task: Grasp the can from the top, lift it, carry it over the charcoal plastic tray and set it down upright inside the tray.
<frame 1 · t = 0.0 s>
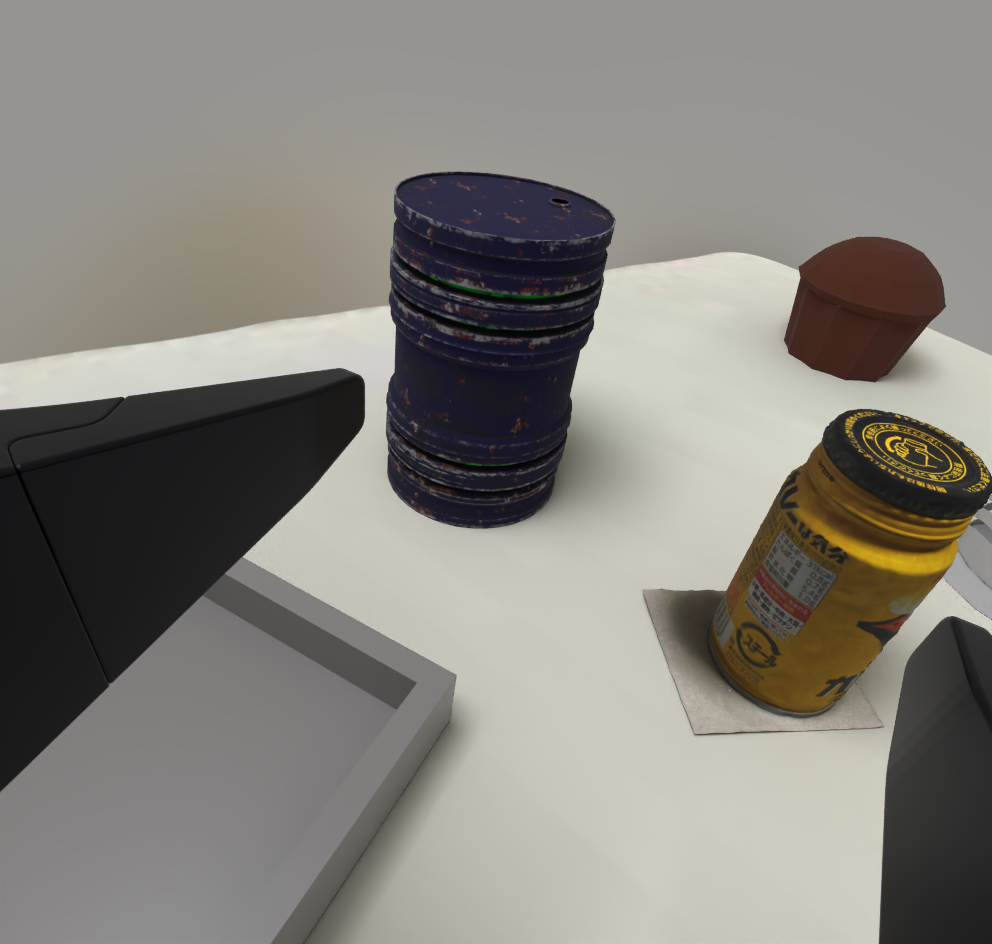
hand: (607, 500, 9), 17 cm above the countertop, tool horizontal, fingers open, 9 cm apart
tray: (115, 792, 21), on the countertop
muffin: (832, 358, 56), on the countertop
storage jar: (470, 473, 37), on the countertop
condiment: (750, 659, 29), on the countertop
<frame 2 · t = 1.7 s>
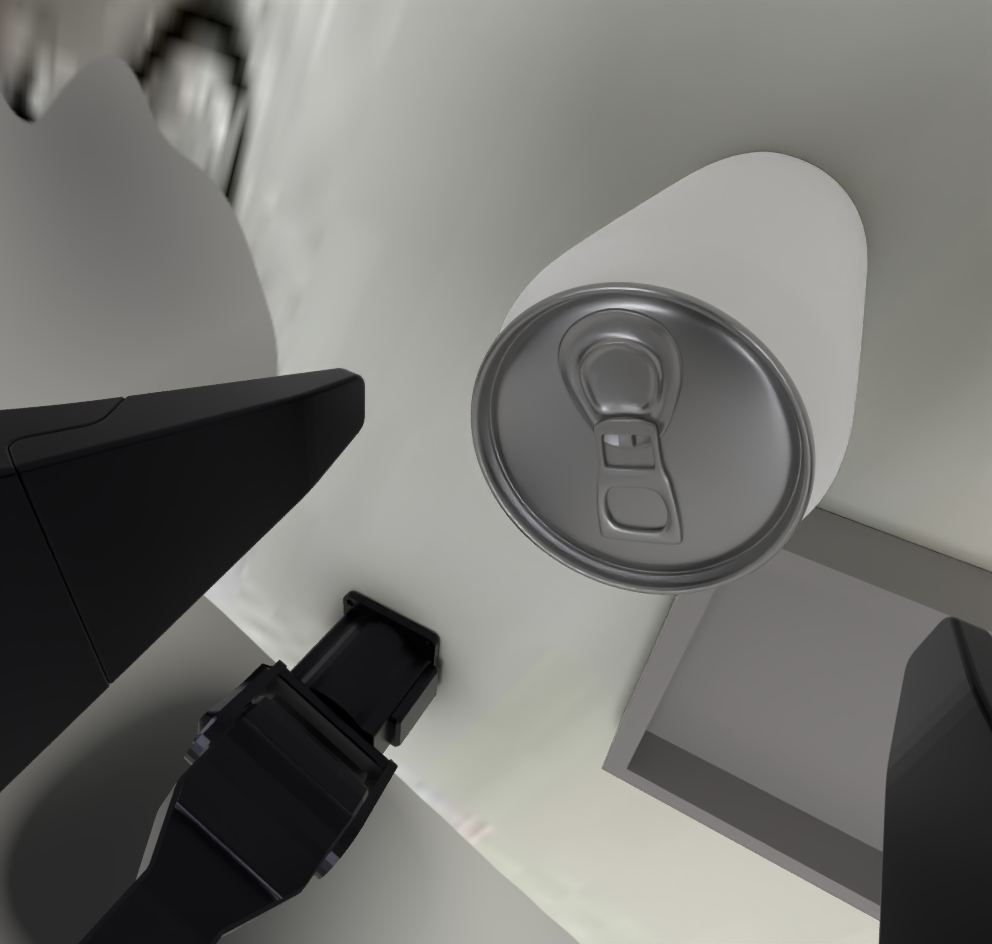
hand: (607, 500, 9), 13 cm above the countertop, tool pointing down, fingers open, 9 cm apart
tray: (858, 706, 25), on the countertop
can: (745, 267, 19), on the countertop
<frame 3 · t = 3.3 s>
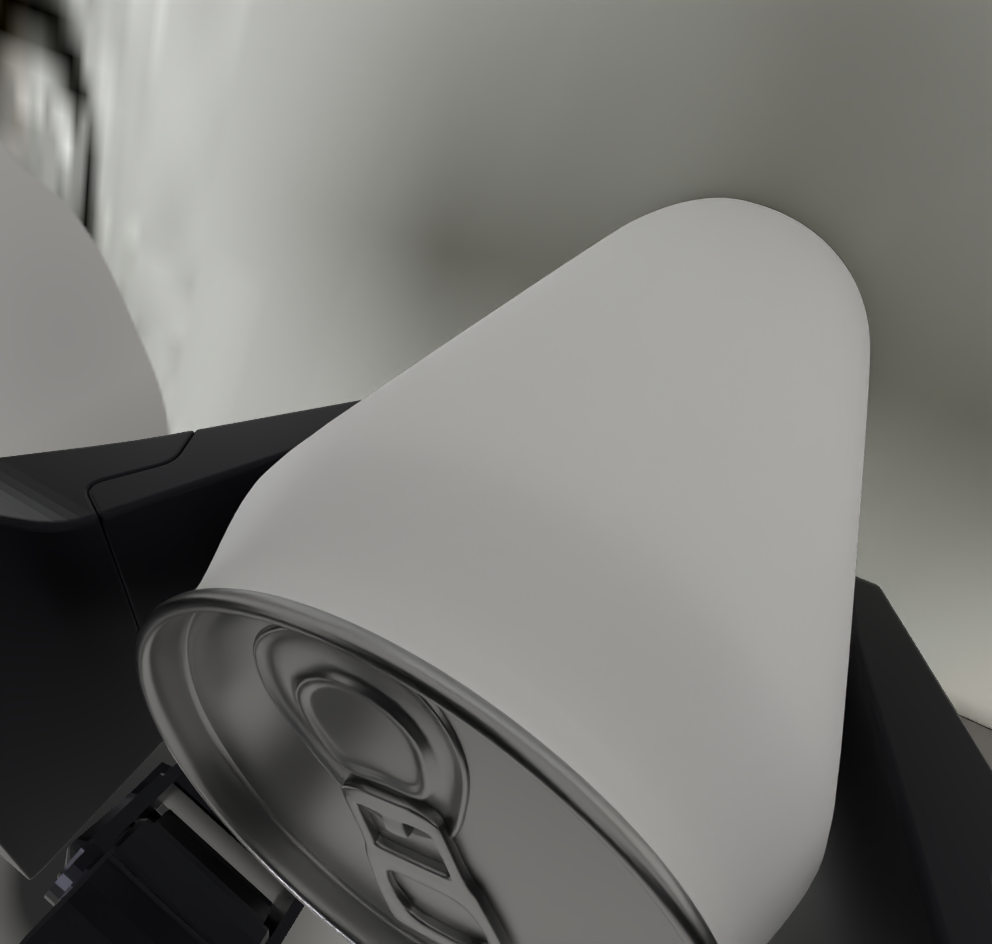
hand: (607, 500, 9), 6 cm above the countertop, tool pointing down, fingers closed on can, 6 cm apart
tray: (854, 868, 20), on the countertop
can: (705, 346, 14), on the countertop, touching gripper
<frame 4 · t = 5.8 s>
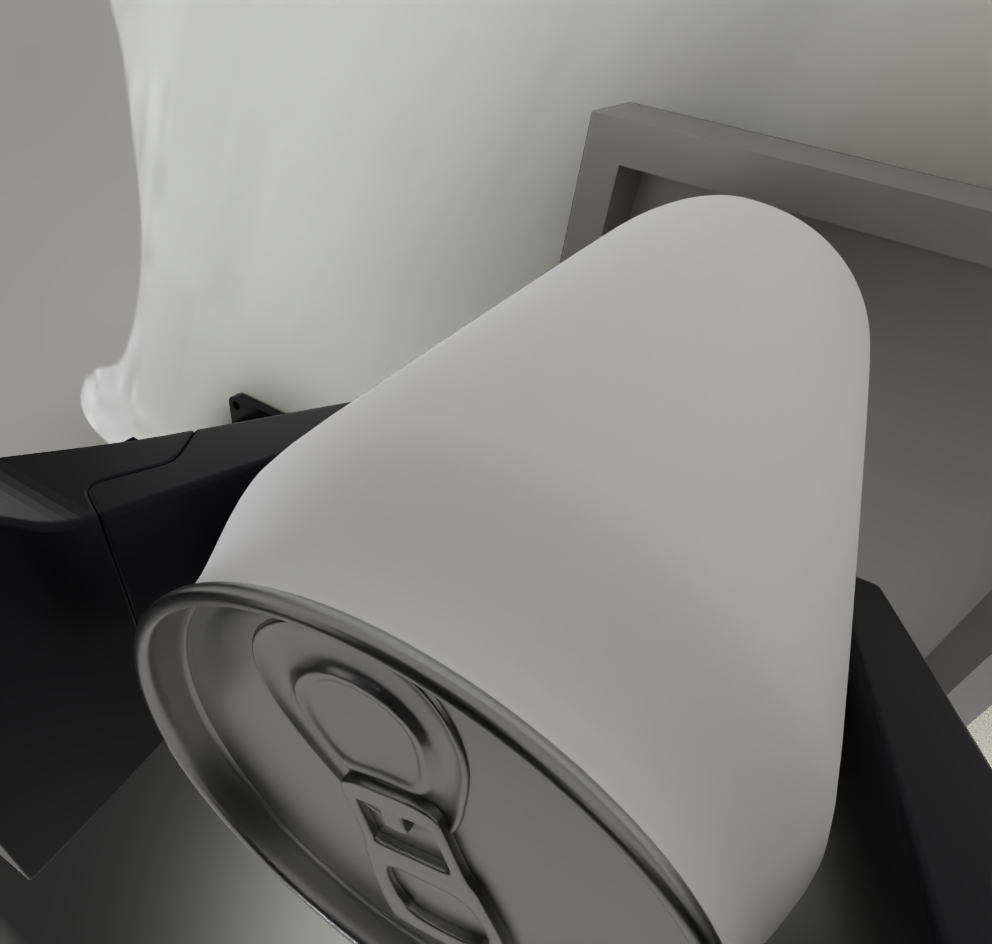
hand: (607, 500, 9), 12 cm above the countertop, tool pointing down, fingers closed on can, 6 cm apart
tray: (792, 438, 20), on the countertop
can: (704, 344, 14), point 6 cm above the countertop, touching gripper
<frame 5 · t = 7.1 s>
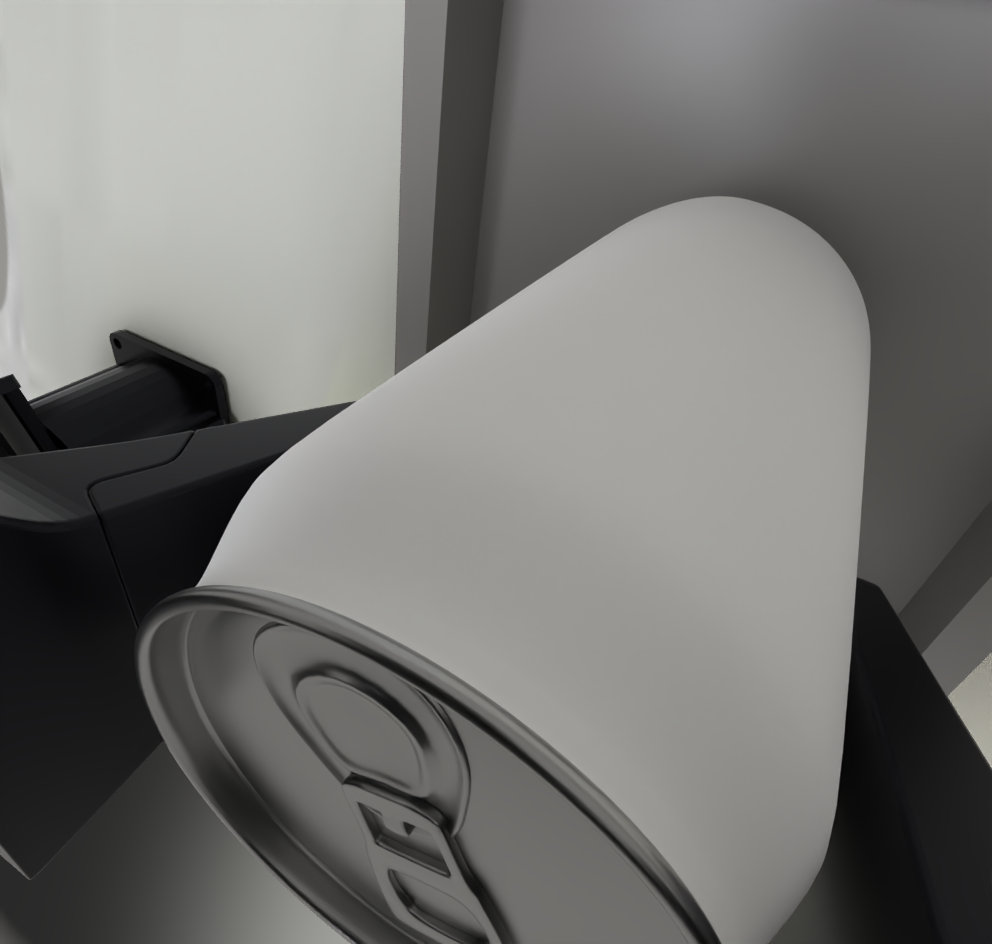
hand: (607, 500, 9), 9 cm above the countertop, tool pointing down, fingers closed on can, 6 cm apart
tray: (731, 312, 16), on the countertop
can: (705, 345, 14), point 2 cm above the countertop, touching gripper
when the fingers open (8 cm above the countertop, at t = 8.1 s): can drops 1 cm, resting on tray.
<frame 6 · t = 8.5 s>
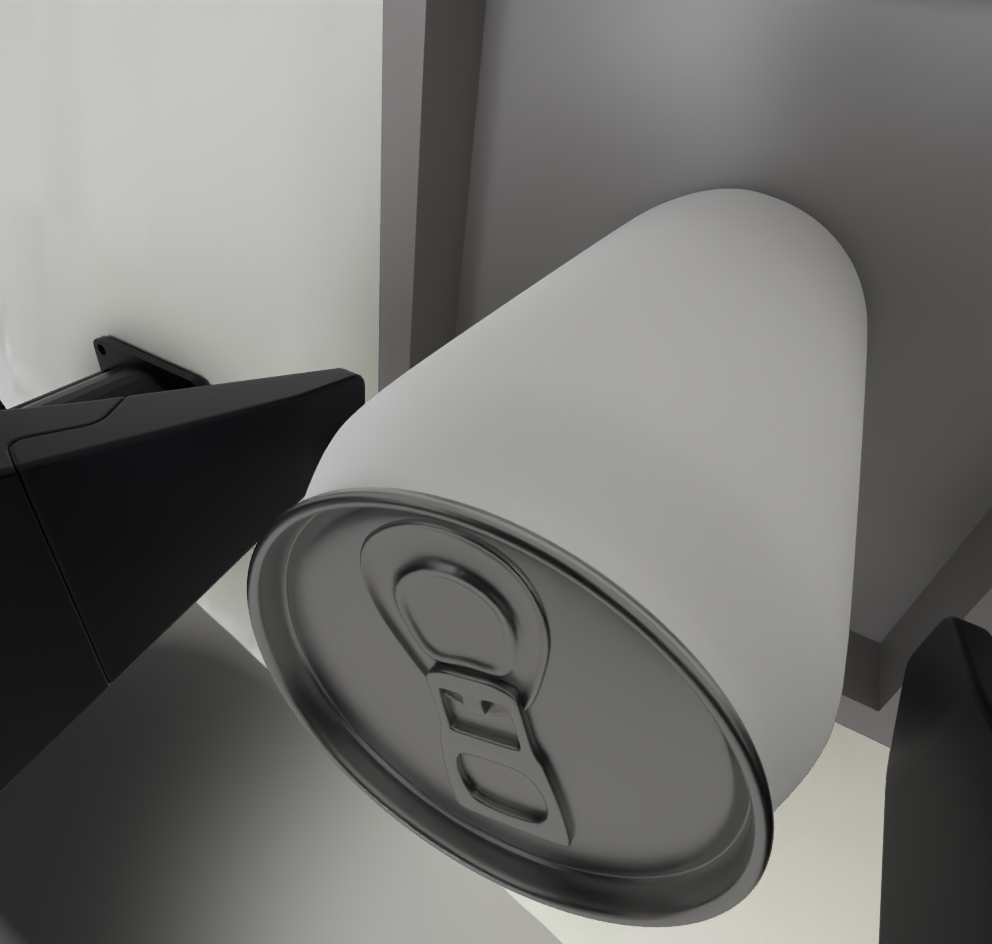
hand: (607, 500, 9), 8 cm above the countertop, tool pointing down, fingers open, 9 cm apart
tray: (720, 321, 15), on the countertop
can: (713, 328, 15), resting on tray
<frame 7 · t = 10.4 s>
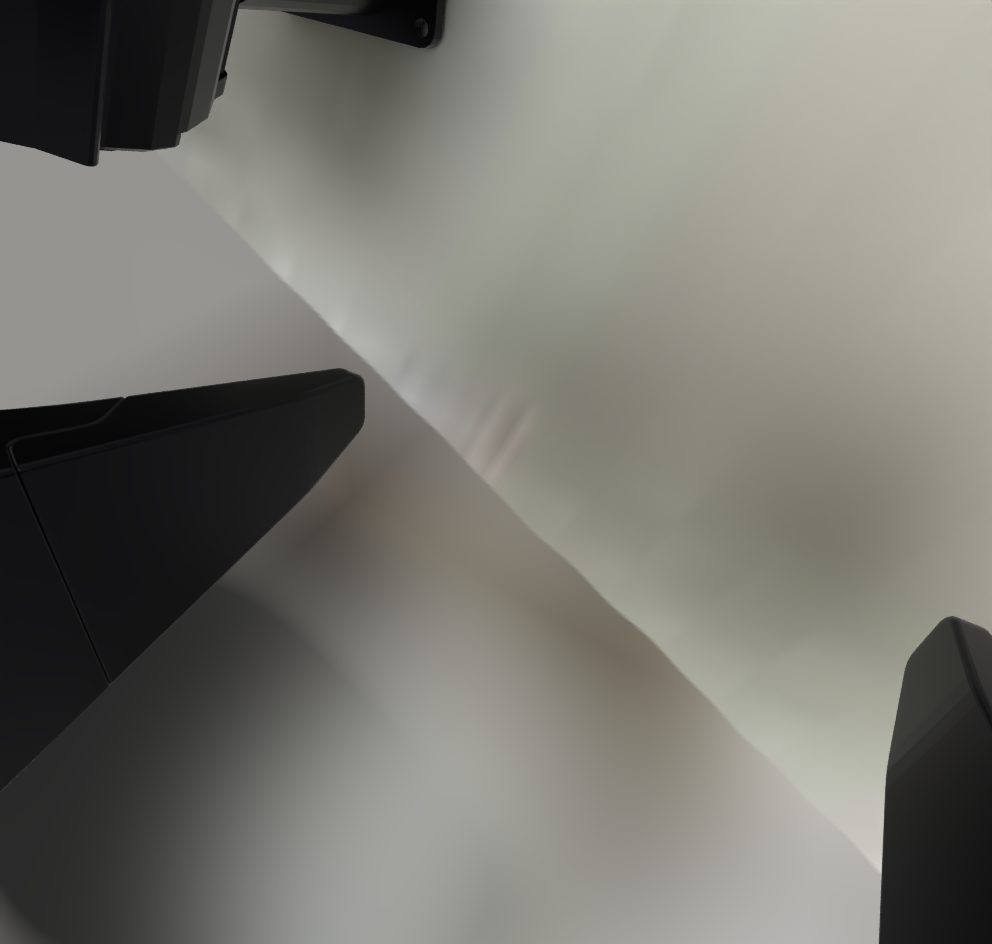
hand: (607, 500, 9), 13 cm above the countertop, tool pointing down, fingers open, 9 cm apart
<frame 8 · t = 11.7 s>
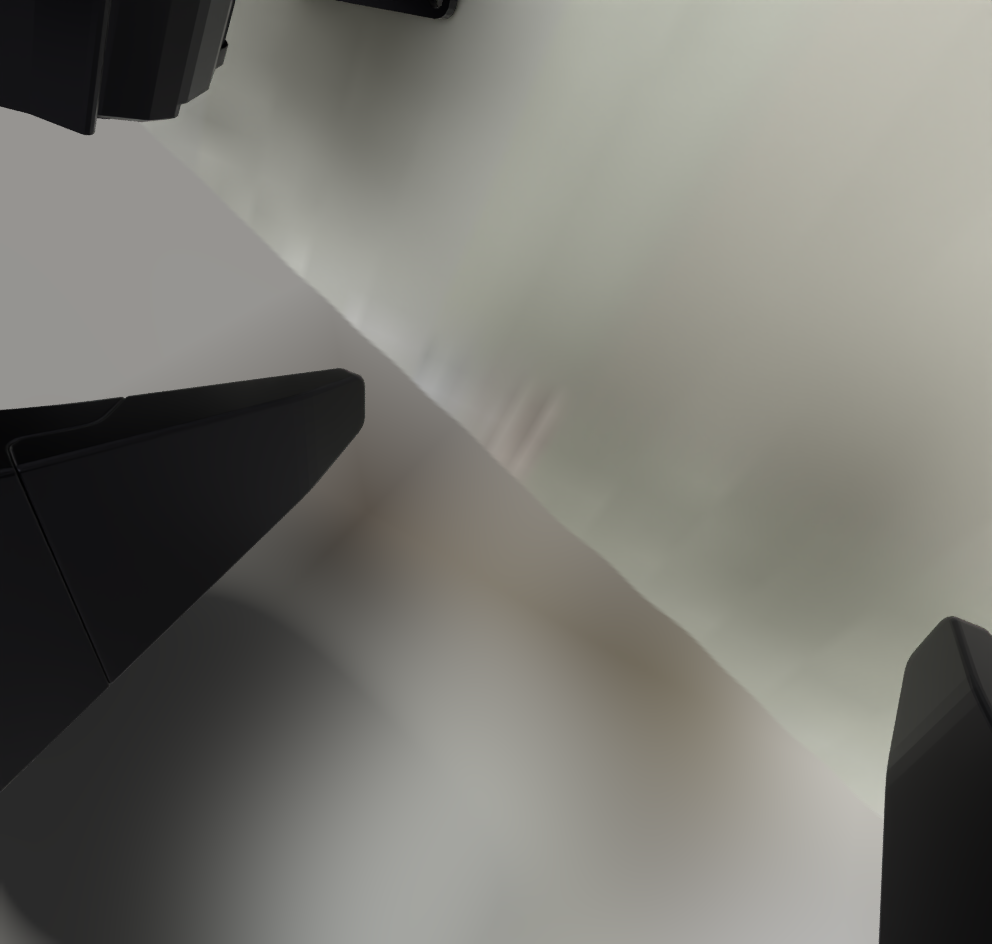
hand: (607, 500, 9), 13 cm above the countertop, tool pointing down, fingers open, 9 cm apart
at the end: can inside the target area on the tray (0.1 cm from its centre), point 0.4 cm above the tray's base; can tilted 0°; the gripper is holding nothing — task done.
